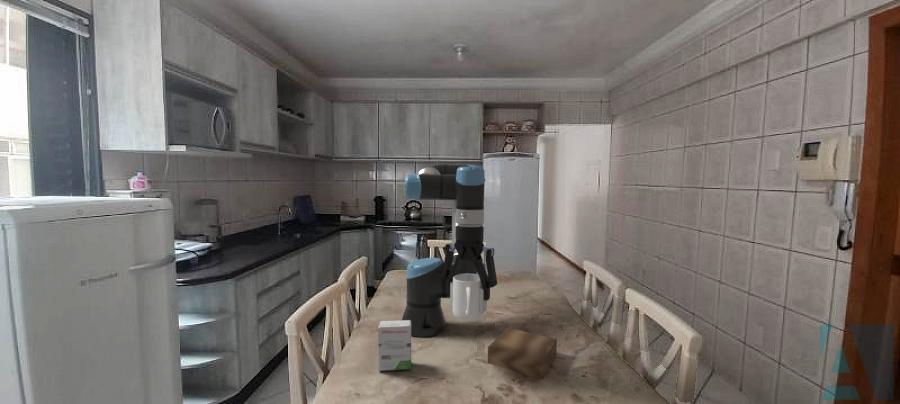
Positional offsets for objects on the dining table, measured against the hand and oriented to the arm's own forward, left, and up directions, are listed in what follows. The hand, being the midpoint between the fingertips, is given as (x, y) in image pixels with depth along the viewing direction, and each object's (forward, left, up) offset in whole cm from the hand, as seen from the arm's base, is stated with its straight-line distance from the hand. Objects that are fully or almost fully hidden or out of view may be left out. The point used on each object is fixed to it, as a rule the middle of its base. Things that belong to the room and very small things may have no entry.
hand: (468, 308), depth 95 cm
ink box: (-16, -11, -16) cm, 25 cm away
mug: (+1, -2, -2) cm, 3 cm away
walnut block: (+12, +11, -16) cm, 23 cm away
